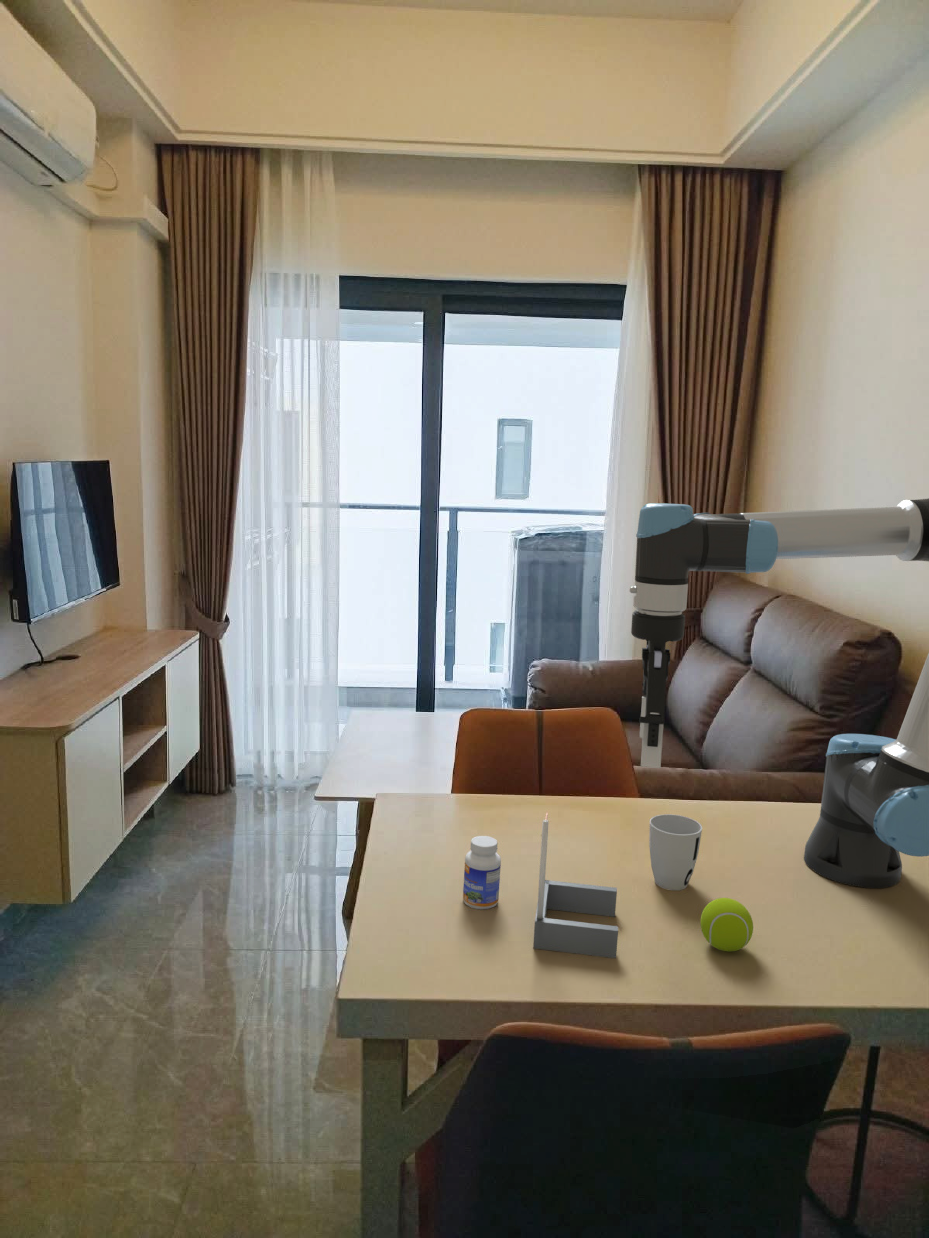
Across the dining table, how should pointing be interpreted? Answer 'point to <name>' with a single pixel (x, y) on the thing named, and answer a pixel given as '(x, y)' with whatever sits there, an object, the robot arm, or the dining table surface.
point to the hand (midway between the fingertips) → (649, 751)
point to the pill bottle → (482, 873)
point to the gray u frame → (573, 900)
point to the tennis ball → (726, 924)
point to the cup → (673, 849)
